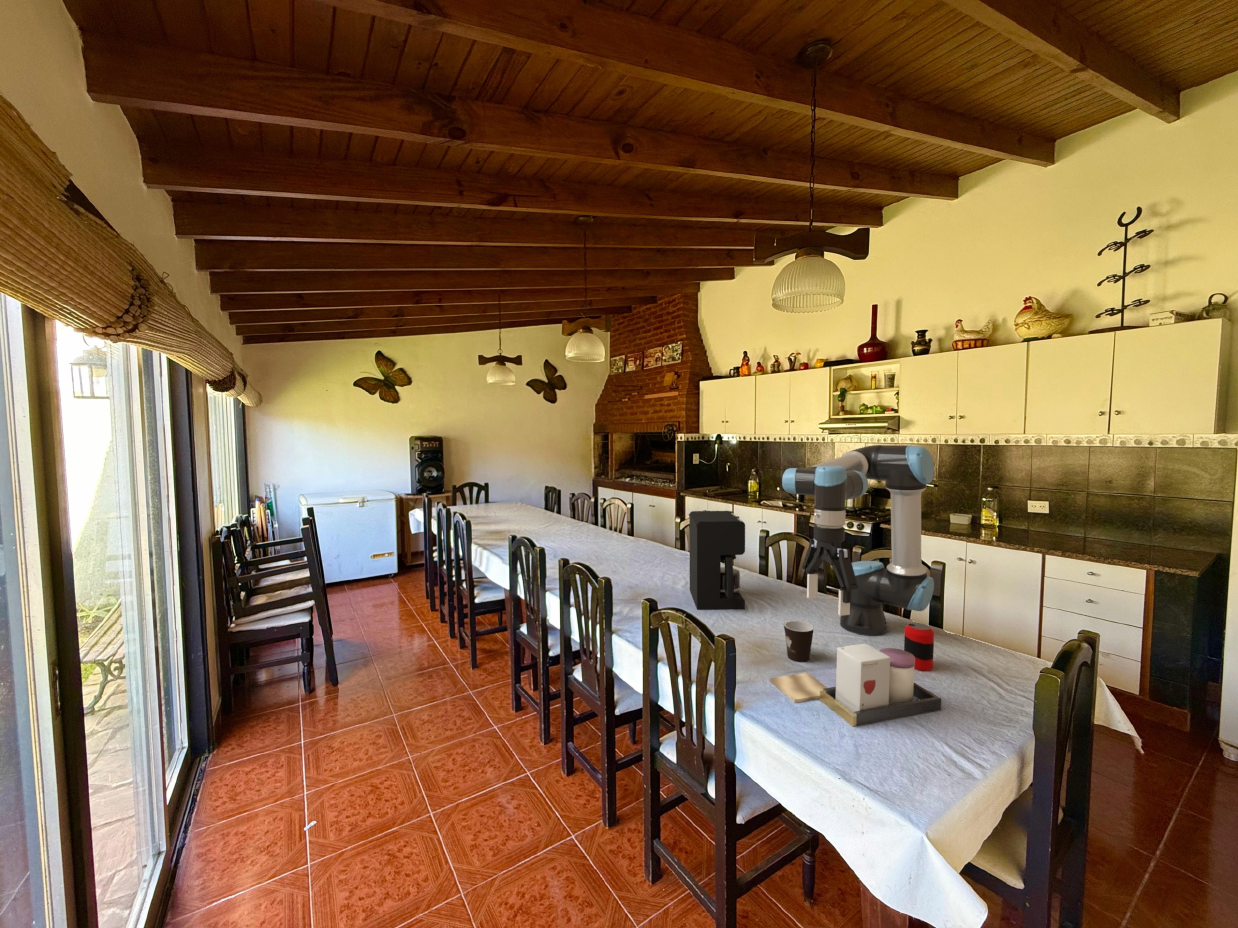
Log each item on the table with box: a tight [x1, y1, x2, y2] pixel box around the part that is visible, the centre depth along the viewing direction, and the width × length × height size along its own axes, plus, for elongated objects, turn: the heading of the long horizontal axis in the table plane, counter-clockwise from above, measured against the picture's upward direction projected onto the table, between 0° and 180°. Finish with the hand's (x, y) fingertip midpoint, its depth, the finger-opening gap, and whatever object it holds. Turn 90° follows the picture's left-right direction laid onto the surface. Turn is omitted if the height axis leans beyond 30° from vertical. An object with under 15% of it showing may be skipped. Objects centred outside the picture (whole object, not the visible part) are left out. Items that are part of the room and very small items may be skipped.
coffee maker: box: [688, 510, 746, 611], centre depth 213 cm, size 28×20×35 cm
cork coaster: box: [769, 672, 828, 704], centre depth 144 cm, size 12×12×1 cm
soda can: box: [903, 622, 935, 672], centre depth 156 cm, size 8×8×12 cm
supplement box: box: [835, 643, 890, 714], centre depth 133 cm, size 9×9×15 cm
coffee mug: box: [783, 620, 814, 663], centre depth 164 cm, size 12×9×10 cm
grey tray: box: [819, 682, 942, 727], centre depth 135 cm, size 26×12×3 cm, turn 105°
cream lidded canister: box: [879, 647, 915, 705], centre depth 136 cm, size 8×8×13 cm
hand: (827, 605), depth 138 cm, fingers open, 13 cm apart
